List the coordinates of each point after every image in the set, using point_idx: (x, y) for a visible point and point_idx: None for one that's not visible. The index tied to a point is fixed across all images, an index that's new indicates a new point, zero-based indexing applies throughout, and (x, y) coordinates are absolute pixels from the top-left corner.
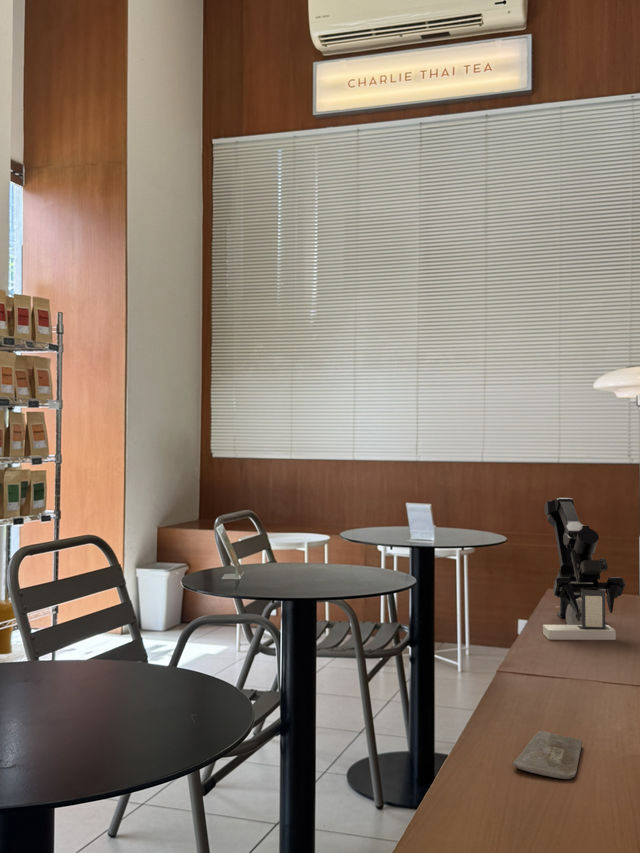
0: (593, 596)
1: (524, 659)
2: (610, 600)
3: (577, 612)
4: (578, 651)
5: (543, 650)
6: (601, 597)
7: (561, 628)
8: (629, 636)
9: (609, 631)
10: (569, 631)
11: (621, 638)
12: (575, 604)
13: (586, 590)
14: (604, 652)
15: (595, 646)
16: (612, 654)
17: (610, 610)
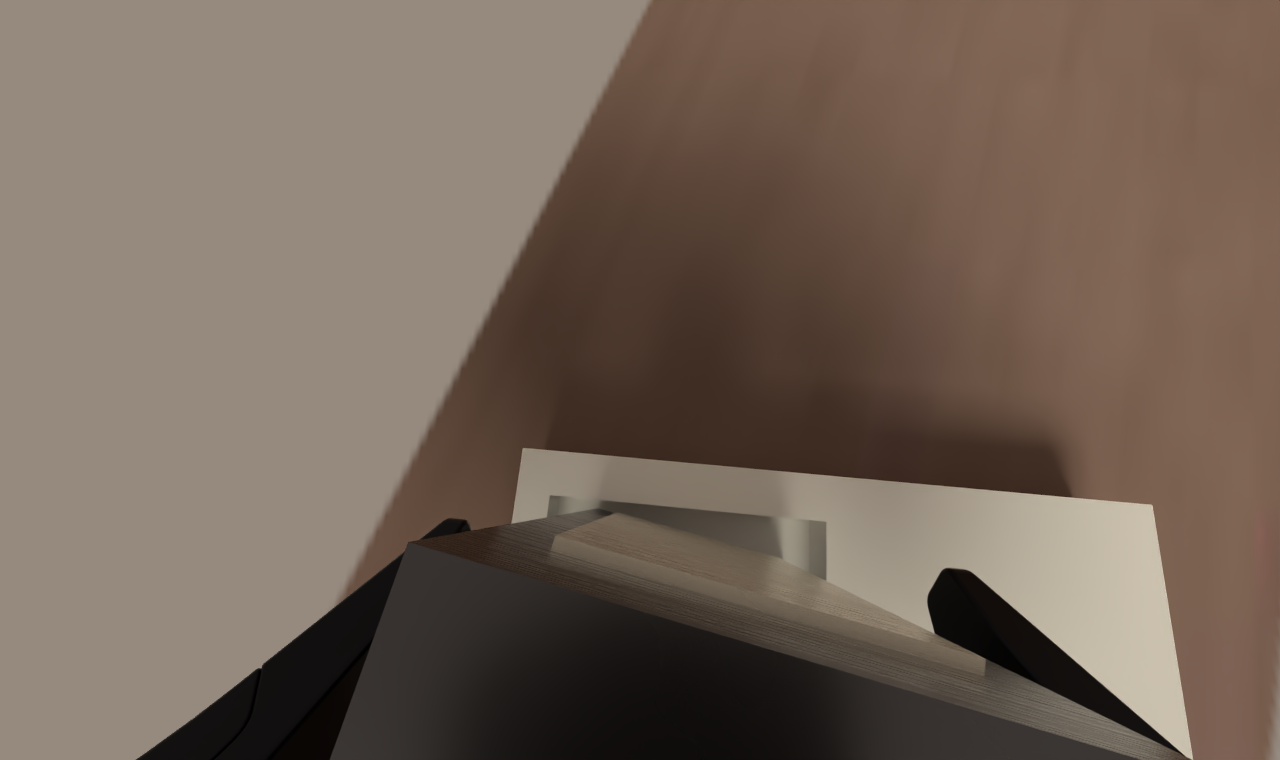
0: (764, 589)
1: (1268, 14)
2: (348, 657)
3: (940, 589)
4: (909, 164)
5: (1140, 194)
6: (574, 537)
7: (1010, 578)
8: (377, 572)
9: (577, 453)
10: (938, 486)
11: (474, 506)
12: (1054, 661)
13: (1072, 736)
14: (751, 138)
15: (760, 278)
16: (719, 96)
17: None
